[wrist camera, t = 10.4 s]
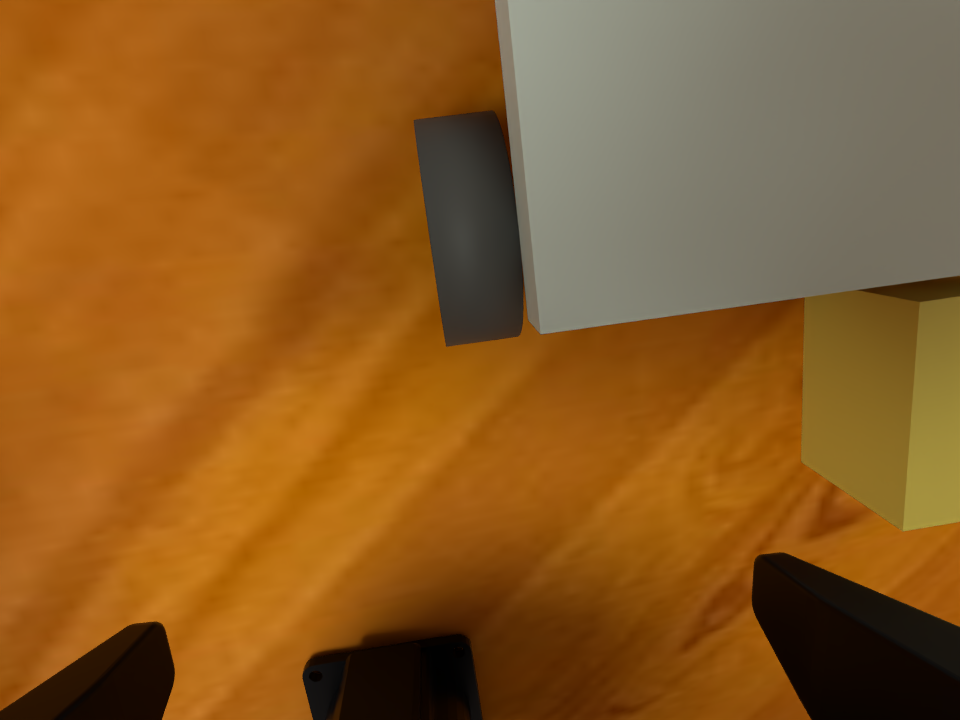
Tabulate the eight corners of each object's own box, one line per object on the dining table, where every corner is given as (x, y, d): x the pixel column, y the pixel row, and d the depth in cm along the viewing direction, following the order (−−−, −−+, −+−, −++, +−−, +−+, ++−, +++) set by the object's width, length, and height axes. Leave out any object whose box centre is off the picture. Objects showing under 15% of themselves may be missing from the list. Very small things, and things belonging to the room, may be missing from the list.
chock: (910, 442, 22) (1044, 507, 17) (799, 460, 22) (902, 531, 17) (924, 262, 20) (1077, 278, 16) (802, 279, 20) (919, 302, 15)
